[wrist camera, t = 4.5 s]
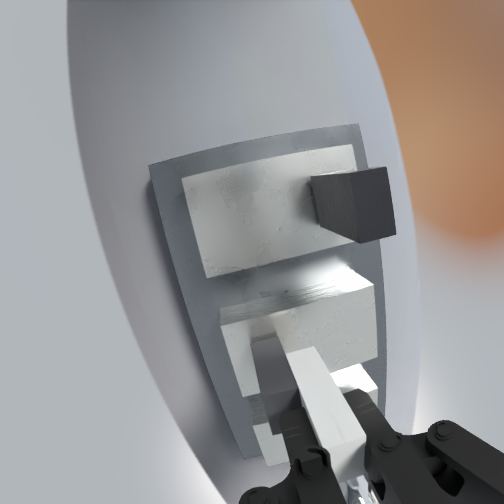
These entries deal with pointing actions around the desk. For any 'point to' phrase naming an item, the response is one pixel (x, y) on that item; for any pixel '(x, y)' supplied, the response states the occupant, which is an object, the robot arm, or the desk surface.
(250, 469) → the desk surface
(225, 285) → the breaker panel
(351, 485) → the milkshake
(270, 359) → the breaker
